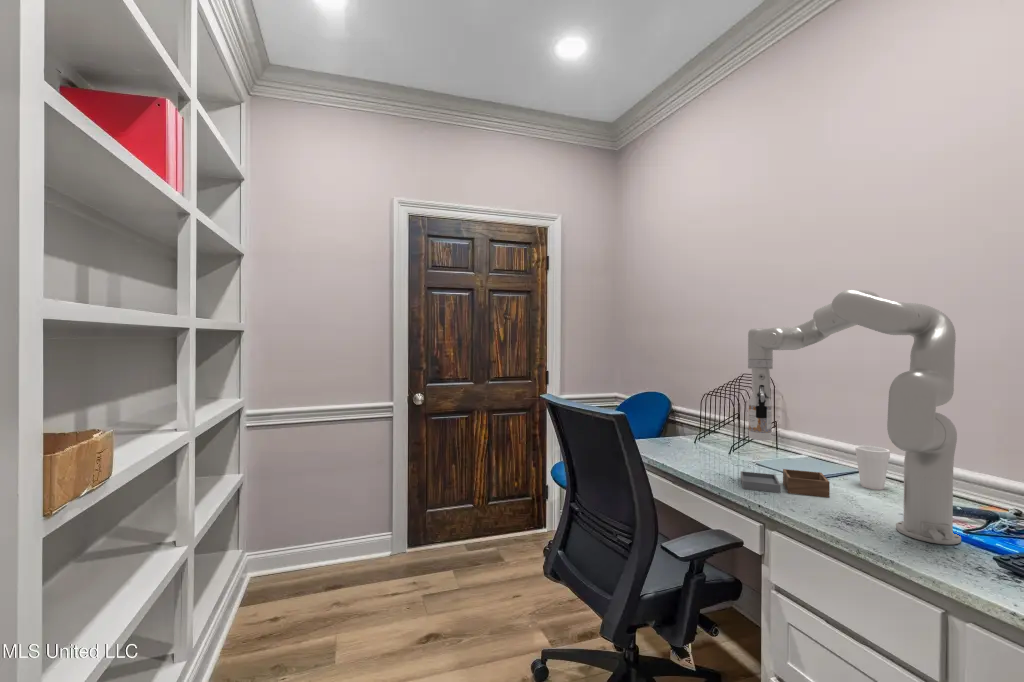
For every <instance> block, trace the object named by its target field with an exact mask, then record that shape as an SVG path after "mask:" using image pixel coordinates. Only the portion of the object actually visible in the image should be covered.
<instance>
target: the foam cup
mask: <svg viewBox="0 0 1024 682" xmlns="http://www.w3.org/2000/svg"><path fill="white" fill-rule="evenodd" d="M855 455H856V461H857V467H858V477H859V483H860V486H861V487H862V488H864V489H865V488H866V489H870V490H876V491H877V490H878V491H879V490H880V491H881V490H884V489H885V484H886V479H887V472H888V467H889V461H890V458H891V450H890V449H887V448H885V447H881V446H873V445H857V446H856V445H855Z"/></svg>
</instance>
